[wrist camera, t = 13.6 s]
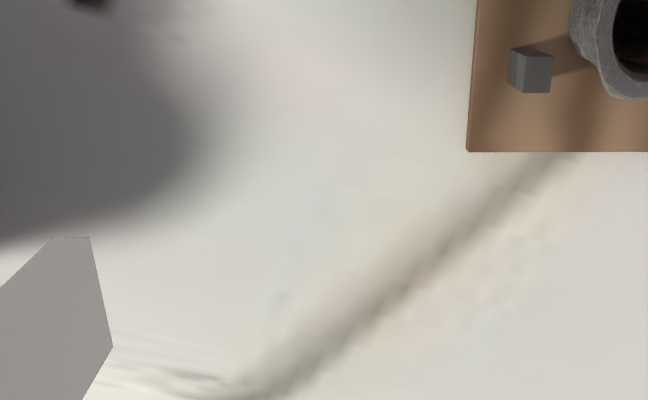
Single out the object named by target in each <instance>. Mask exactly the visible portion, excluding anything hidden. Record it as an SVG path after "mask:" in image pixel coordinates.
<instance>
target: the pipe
mask: <svg viewBox="0 0 648 400" xmlns="http://www.w3.org/2000/svg"><path fill="white" fill-rule="evenodd" d="M568 32H569V36H570V39H571V42H572V45H573V47H574V48H575V50H576V52H577V53H578V54H579V55H580V56H581V57H583V58H585V59H586V60H589V61H591V62H592V63H593V64H594V65H595V66H596V67H597V69H598V71H599V74H600V78H601V81H602V84H603V87H604V90H605V92H606V93H607V94H609V95H610V96H612V97H614V98H618V99H622V100H646V99H648V0H574V1H573V3H572V6H571V9H570V13H569V18H568Z"/></svg>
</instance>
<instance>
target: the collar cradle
mask: <svg viewBox="0 0 648 400" xmlns="http://www.w3.org/2000/svg"><path fill="white" fill-rule="evenodd" d="M573 1H574V0H477V10H476V23H475V36H474V48H473V61H472V74H471V86H470V99H469V112H468V125H467V137H466V149H467V151H468V152H648V99H646V100H622V99H618V98H614V97H612V96H610V95H609V94H607V93H606V92H605V90H604V87H603V84H602V81H601V78H600V74H599V71H598V69H597V67H596V66H595V65H594V64H593V63H592V62H591V61H589V60H586V59H585V58H583V57H581V56H580V55H579V54H578V53H577V52H576V50H575V48H574V47H573V45H572V42H571V39H570V36H569V32H568V18H569V13H570V9H571V6H572V3H573Z"/></svg>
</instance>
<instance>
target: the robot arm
mask: <svg viewBox="0 0 648 400" xmlns="http://www.w3.org/2000/svg"><path fill="white" fill-rule="evenodd" d="M112 348H113V344H112V339H111V335H110V330H109V326H108V321H107V316H106V312H105V307H104V303H103V298H102V293H101V289H100V284H99V280H98V275H97V270H96V266H95V261H94V257H93V252H92V247H91V243H90V238H89V237H70V238H52V239H51V240H50V241H49V242H48V243H47V244H46V245H45V246H44V247H43V248H42V249H41V250H40V251H39V252H38V253H37V254H35V255H34V256H33V257H32V258H31V259H30V260H29V261H28V262H27V263H26V264H25V265H24V266H23V267H22V268H21V269H20V270H18V271H17V272H16V273H15V274H14V275H13V276H12V277H11V278H10V279H9V280H8V281H7V282H6V283H5V284H4V285H3V286H2V287H0V400H82V399H83V397H84V395H85V394H86V392H87V390H88V389H89V387H90V385H91V384H92V382H93V380H94V378H95V377H96V375H97V373H98V372H99V370H100V368H101V366H102V365H103V363H104V361H105V360H106V358H107V356H108V355H109V353H110V351H111V349H112Z"/></svg>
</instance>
